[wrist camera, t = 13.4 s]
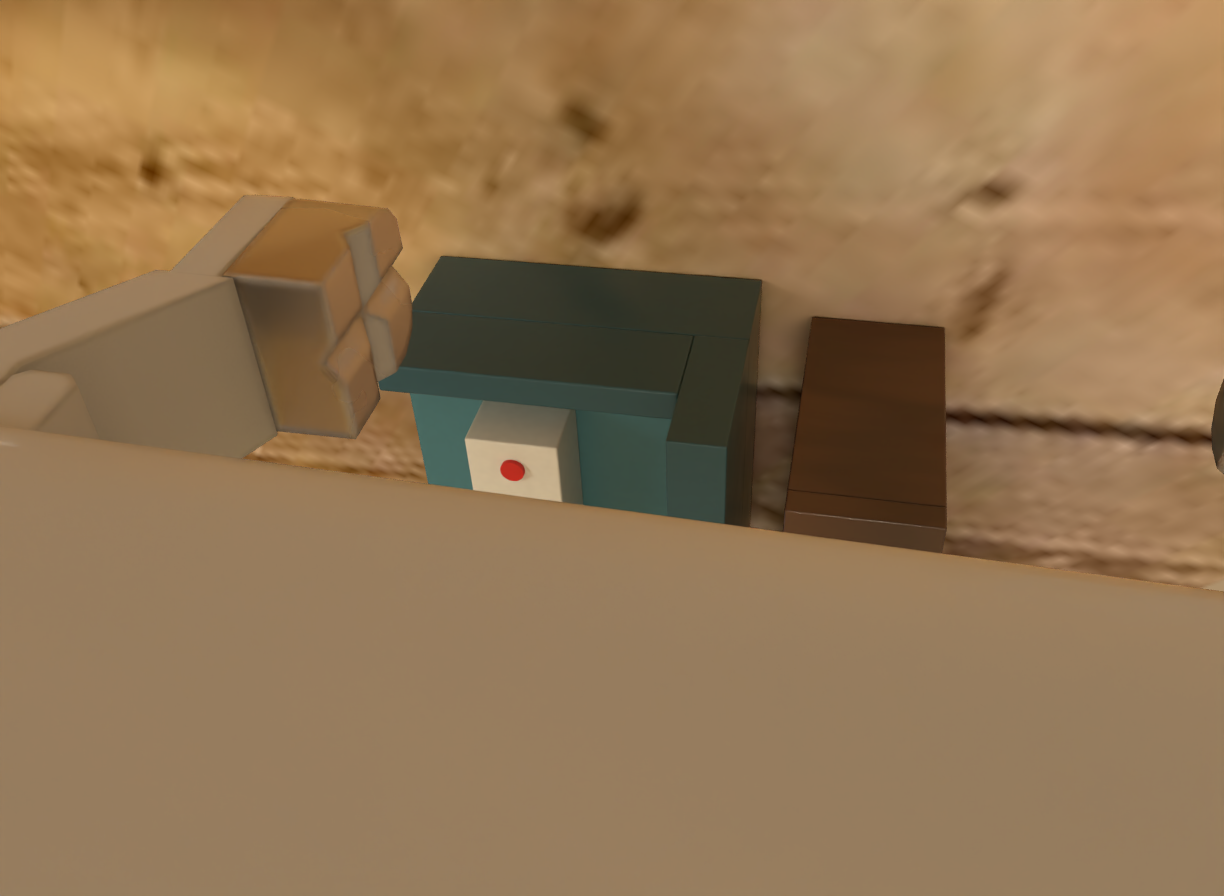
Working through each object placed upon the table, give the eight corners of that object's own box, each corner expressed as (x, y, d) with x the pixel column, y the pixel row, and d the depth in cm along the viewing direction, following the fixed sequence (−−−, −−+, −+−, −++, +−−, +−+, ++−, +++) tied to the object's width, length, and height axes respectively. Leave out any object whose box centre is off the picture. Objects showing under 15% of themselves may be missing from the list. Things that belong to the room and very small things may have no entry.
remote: (516, 602, 51) (497, 654, 49) (486, 391, 43) (462, 442, 41) (592, 612, 50) (576, 665, 48) (575, 400, 42) (555, 452, 40)
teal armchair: (489, 548, 57) (422, 710, 49) (440, 255, 46) (346, 407, 38) (747, 581, 54) (718, 757, 47) (762, 279, 43) (726, 447, 36)
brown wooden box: (790, 565, 53) (765, 764, 45) (812, 316, 44) (784, 510, 36) (900, 578, 52) (893, 784, 44) (944, 327, 43) (947, 528, 35)
